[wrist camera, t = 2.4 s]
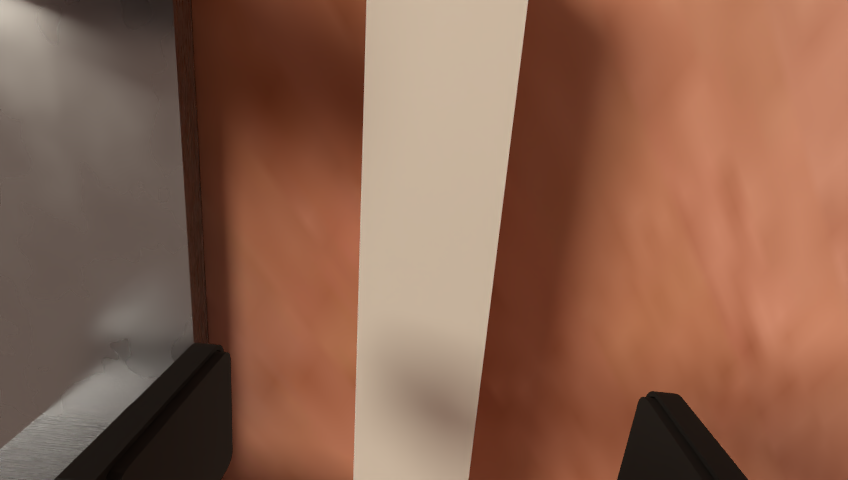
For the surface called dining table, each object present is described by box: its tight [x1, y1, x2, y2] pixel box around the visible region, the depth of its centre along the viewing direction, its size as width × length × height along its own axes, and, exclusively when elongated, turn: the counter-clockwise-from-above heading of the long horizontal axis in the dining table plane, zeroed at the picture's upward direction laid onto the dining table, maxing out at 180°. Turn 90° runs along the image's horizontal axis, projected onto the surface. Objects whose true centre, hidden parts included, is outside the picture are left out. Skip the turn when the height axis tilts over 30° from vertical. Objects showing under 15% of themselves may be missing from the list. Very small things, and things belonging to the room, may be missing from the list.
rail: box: [353, 0, 528, 480], centre depth 17 cm, size 22×4×5 cm, turn 176°
